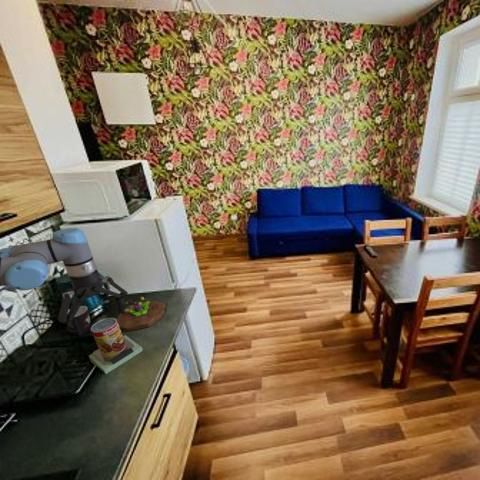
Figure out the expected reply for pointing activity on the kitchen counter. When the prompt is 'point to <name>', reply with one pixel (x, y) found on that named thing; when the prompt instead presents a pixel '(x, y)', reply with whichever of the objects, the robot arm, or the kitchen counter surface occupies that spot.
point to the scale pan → (108, 359)
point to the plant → (140, 315)
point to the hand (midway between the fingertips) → (102, 322)
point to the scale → (117, 357)
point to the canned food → (108, 337)
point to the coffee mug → (81, 321)
